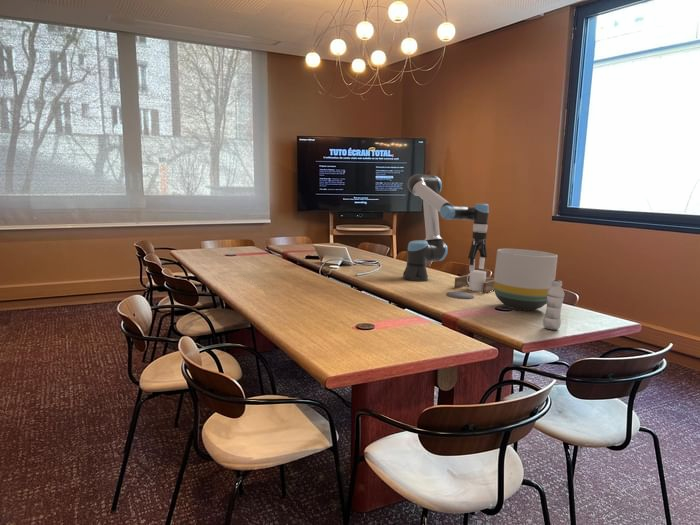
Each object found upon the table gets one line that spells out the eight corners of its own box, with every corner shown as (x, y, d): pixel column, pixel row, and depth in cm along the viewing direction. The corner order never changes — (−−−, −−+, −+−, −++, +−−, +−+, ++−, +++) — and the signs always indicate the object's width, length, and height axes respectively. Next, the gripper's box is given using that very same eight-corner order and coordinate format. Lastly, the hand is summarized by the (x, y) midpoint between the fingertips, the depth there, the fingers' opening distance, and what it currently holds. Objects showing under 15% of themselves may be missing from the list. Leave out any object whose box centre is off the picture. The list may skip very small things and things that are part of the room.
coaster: (441, 295, 244) (441, 294, 244) (453, 291, 255) (453, 290, 255) (467, 300, 236) (467, 299, 236) (478, 296, 247) (478, 295, 247)
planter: (563, 316, 214) (570, 257, 210) (508, 315, 209) (514, 255, 205) (531, 302, 240) (537, 249, 236) (481, 301, 235) (487, 247, 231)
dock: (454, 288, 265) (455, 277, 264) (467, 284, 279) (468, 274, 278) (485, 293, 254) (486, 283, 253) (497, 289, 268) (498, 279, 267)
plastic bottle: (539, 326, 194) (545, 278, 191) (554, 327, 194) (560, 279, 191) (547, 331, 187) (553, 282, 184) (563, 331, 188) (569, 282, 185)
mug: (471, 287, 272) (473, 268, 270) (487, 291, 262) (489, 272, 260) (460, 287, 268) (462, 269, 266) (476, 292, 257) (478, 273, 256)
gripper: (477, 233, 248) (474, 272, 251) (494, 231, 267) (491, 268, 270) (464, 231, 252) (460, 270, 255) (482, 230, 272) (478, 267, 275)
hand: (476, 269), depth 263 cm, fingers open, 13 cm apart
